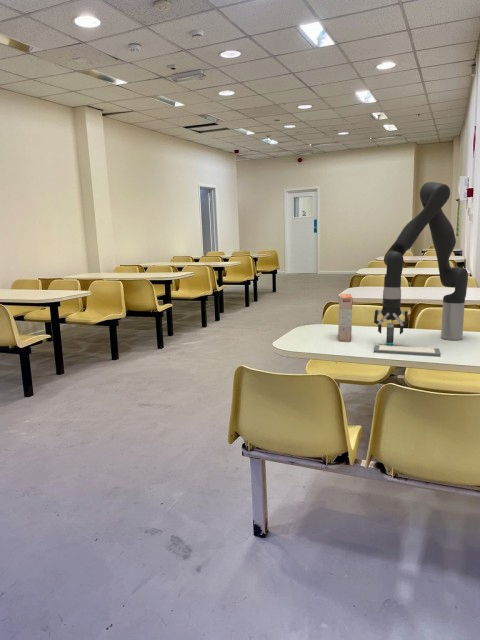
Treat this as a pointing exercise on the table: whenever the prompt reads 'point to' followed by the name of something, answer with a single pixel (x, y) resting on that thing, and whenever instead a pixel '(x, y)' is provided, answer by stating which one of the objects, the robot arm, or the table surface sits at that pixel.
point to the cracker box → (345, 317)
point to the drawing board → (407, 350)
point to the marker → (390, 334)
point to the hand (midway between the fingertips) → (390, 333)
